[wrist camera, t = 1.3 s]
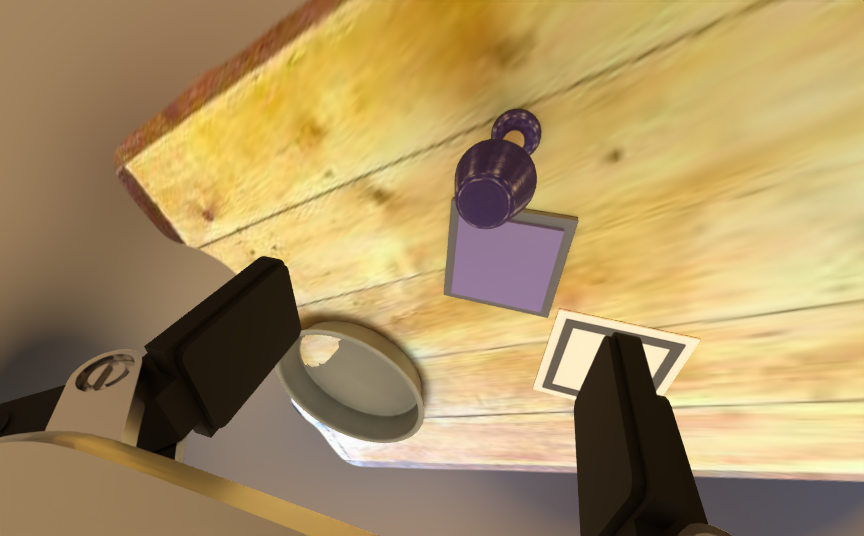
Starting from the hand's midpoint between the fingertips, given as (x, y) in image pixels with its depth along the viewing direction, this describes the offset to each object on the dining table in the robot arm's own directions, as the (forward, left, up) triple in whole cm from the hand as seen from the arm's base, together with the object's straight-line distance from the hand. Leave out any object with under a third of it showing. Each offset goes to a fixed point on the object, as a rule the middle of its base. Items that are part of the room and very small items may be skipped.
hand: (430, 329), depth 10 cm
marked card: (-15, +25, -26) cm, 39 cm away
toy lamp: (0, 0, -26) cm, 26 cm away
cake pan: (+18, +39, -26) cm, 50 cm away
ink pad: (-1, +13, -26) cm, 29 cm away
